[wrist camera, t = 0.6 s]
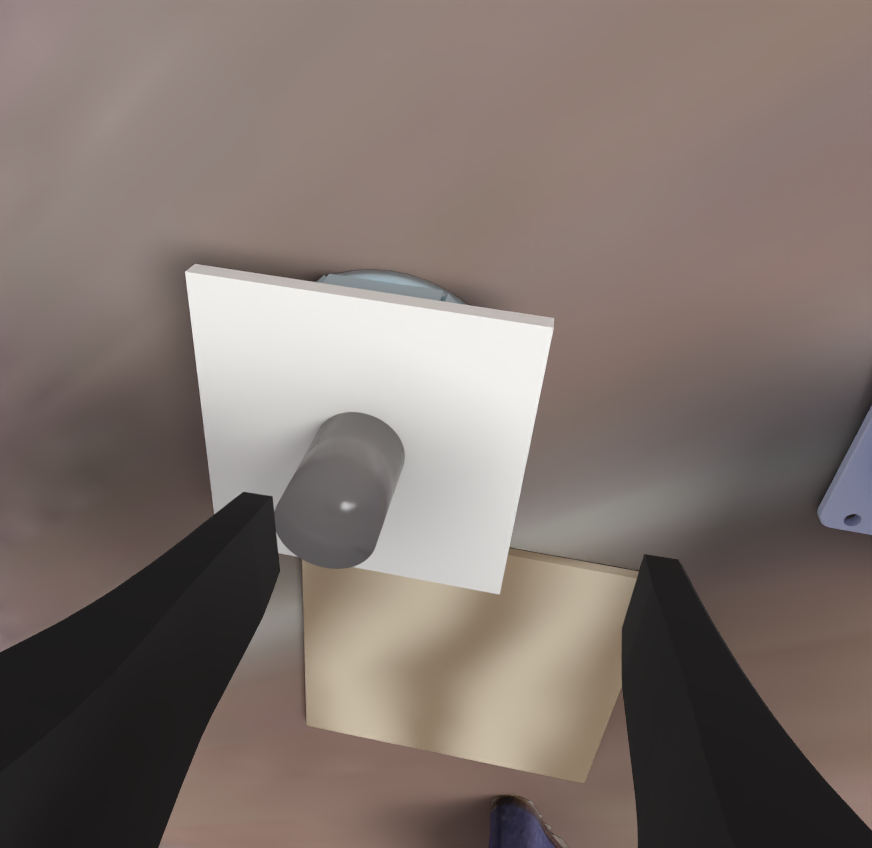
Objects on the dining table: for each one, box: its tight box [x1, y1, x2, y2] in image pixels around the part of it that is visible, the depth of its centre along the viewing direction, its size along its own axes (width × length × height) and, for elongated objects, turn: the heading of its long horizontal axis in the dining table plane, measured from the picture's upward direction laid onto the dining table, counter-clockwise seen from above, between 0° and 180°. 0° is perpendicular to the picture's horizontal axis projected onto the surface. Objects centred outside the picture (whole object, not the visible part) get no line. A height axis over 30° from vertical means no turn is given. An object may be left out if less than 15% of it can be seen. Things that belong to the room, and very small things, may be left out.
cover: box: [185, 264, 554, 594], centre depth 20 cm, size 10×10×4 cm
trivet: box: [302, 548, 639, 783], centre depth 31 cm, size 14×14×1 cm
